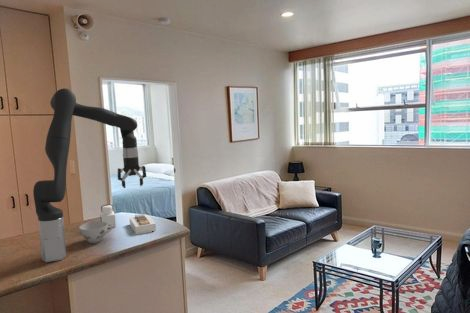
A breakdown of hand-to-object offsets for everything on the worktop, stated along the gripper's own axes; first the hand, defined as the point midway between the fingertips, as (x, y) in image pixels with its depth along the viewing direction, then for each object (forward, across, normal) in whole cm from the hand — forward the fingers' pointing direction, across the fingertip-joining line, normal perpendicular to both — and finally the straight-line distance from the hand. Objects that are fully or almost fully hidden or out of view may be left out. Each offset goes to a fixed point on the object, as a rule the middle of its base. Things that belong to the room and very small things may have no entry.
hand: (132, 186), depth 175 cm
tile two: (+20, +3, -1) cm, 20 cm away
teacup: (+22, -20, -8) cm, 31 cm away
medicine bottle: (+23, -12, +11) cm, 28 cm away
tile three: (+20, +3, +5) cm, 21 cm away
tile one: (+20, +3, -7) cm, 21 cm away
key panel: (+23, +3, -1) cm, 23 cm away
